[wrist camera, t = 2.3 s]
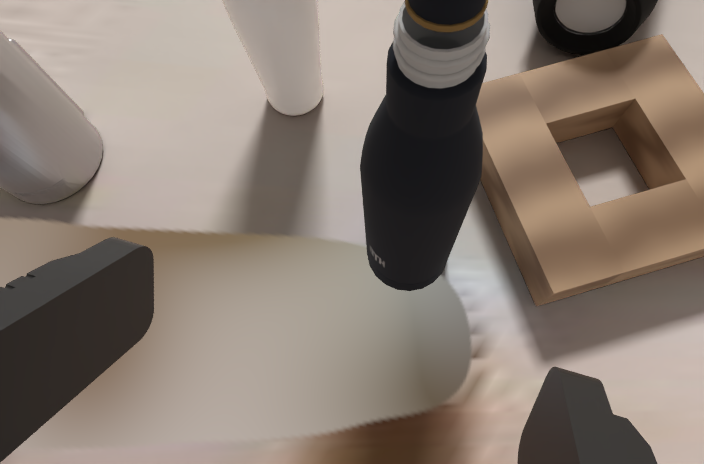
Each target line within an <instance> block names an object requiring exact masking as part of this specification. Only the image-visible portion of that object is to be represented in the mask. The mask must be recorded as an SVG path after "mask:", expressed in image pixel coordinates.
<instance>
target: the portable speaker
mask: <svg viewBox="0 0 704 464" xmlns="http://www.w3.org/2000/svg"><path fill="white" fill-rule="evenodd" d="M656 3H657V0H533V6H534V12H535V17H536V23H537V26H538V29H539V31H540V33H541V34H542V36H543V37H544V38H545V39H546V40H547V41H548V42H549V43H550V44H552V45H553V46H555V47H556V48H558V49H560V50H563V51H566V52H569V53H575V54H592V53H595V52H599V51H603V50H606V49H610V48H614V47H617V46H619V45H620V44H622V43H623V42H625V41H626V40H627V39H628V38H630V37H631V36H632V34H633V33H634V32H635V31H636V30H637V29H638V28H639V26H640V25H641V24H642V23H643V22H644V21H645V20H646V18H647V17H648V16H649V15H650V13H651V12H652V10H653V9H654V7H655V5H656Z"/></svg>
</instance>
